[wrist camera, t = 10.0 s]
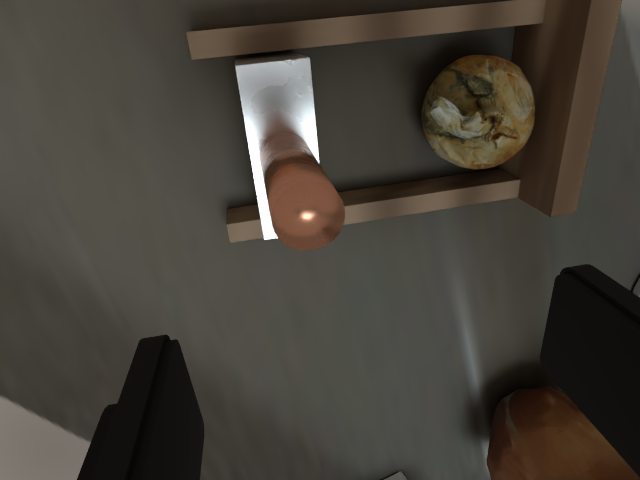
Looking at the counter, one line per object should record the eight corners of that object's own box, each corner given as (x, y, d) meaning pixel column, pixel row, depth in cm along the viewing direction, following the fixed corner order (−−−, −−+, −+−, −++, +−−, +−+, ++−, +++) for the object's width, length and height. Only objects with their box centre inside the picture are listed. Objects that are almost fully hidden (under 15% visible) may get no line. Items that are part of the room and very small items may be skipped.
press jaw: (295, 52, 28) (350, 73, 15) (310, 197, 33) (361, 312, 19) (235, 58, 27) (235, 86, 14) (259, 205, 32) (276, 328, 19)
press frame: (544, -3, 30) (624, -11, 24) (518, 181, 37) (575, 212, 30) (190, 31, 27) (177, 32, 21) (230, 226, 34) (229, 270, 27)
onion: (427, 175, 35) (476, 212, 28) (390, 86, 31) (436, 103, 24) (509, 128, 34) (581, 154, 27) (482, 32, 30) (556, 33, 23)
